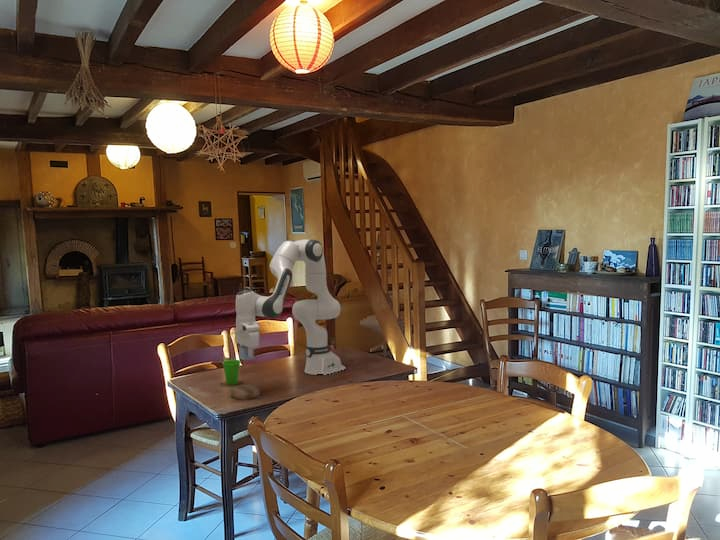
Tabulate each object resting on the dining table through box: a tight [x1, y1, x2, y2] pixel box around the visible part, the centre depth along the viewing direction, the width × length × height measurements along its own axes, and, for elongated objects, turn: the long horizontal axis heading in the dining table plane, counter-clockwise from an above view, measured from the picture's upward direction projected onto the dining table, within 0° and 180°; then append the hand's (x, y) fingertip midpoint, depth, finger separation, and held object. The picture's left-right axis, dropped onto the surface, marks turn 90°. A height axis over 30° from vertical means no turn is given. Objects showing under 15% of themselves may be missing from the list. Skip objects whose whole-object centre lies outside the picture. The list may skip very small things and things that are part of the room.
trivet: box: [230, 384, 261, 401], centre depth 235 cm, size 13×13×3 cm
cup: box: [222, 359, 242, 386], centre depth 253 cm, size 9×9×11 cm
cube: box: [238, 346, 255, 361], centre depth 236 cm, size 5×5×5 cm
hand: (246, 354), depth 236 cm, fingers closed on cube, 5 cm apart
